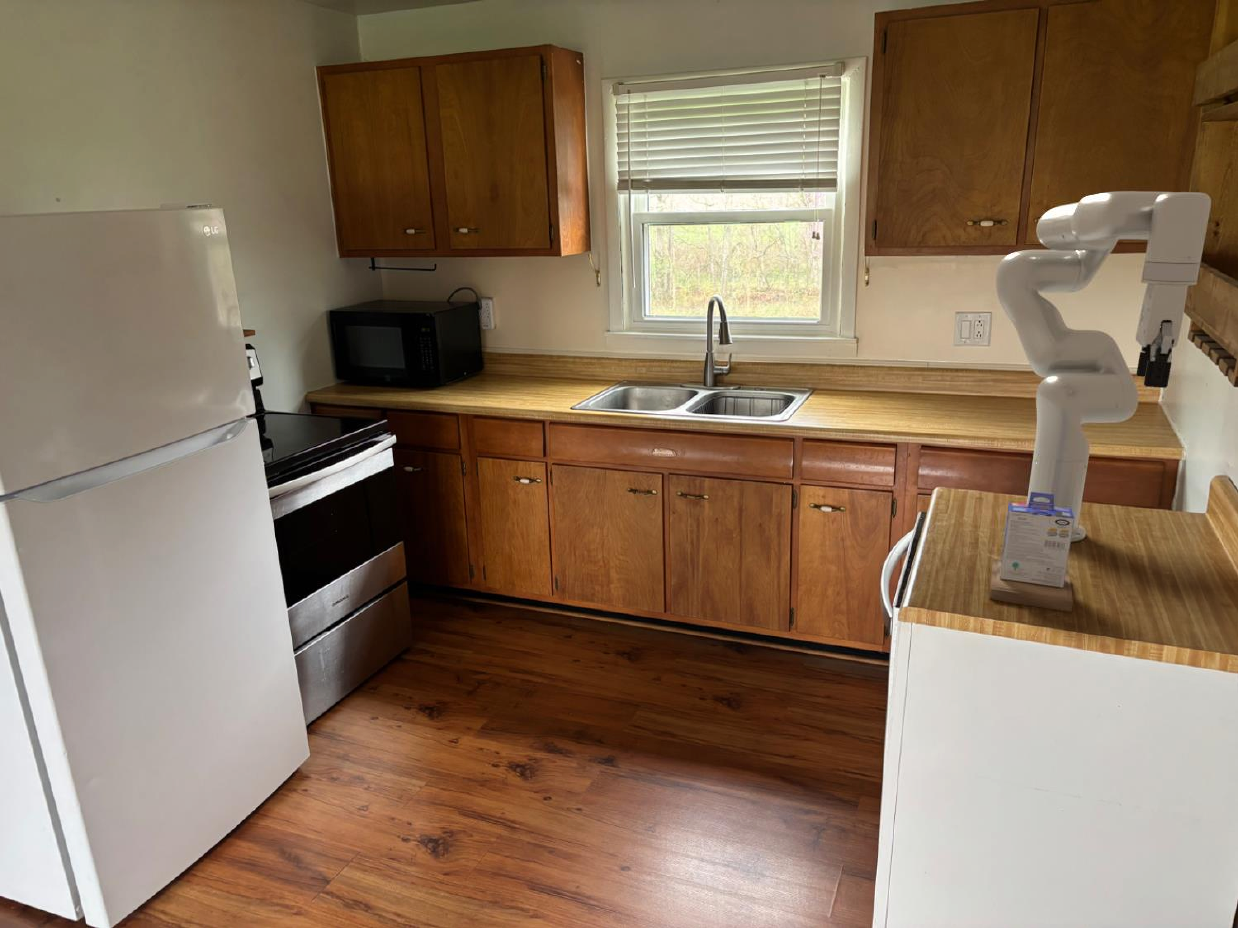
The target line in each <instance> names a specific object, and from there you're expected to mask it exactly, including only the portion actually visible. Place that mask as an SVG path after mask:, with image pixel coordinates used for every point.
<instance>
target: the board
mask: <svg viewBox="0 0 1238 928" xmlns="http://www.w3.org/2000/svg"><path fill="white" fill-rule="evenodd" d="M1001 561H1002V559H995V558H993V559H992V565H991V572H990V573H991V574H990V590H989V600H994V601H1001V602H1006V603H1012V604H1018V605H1025V606H1031V607H1035V608H1037V607H1038V608H1043V609H1049V610H1055V611H1062V612H1067V613H1068V612H1069V613H1072V611H1073V606H1074V605H1073V604H1074V599H1073V591H1072V586H1071V585H1072V584H1071V578H1070V570H1069V569H1066V574H1065V580H1064V586H1063V587H1055V586H1048V585H1041V584H1034V583H1027V582H1020V581H1013V580H1006V579H1001V578H1000V568H1001Z"/></svg>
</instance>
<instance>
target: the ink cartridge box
mask: <svg viewBox="0 0 1238 928" xmlns="http://www.w3.org/2000/svg"><path fill="white" fill-rule="evenodd" d="M1037 497H1044V498H1047V499H1049V500H1050V502H1049V503H1045V502H1037V501H1034V500H1033V498H1037ZM1073 524H1074V515H1073V512H1072V509H1068V508H1058V507H1054V494H1045V493H1037V492H1031V493H1030V500H1029V504H1028V505H1027V503H1017V502H1016V503H1015V502H1009V503H1008V508H1007V514H1006V522H1005V530H1004V537H1003V545H1002V547H1003V548H1002V553H1001V555H1002V556H1001V560H1002V561H1001V568H1000V578H1001V579H1006V580H1013V581H1020V582H1027V583H1034V584H1041V585H1048V586H1055V587H1063V586H1064V580H1065V574H1066V570H1067V569H1068V568H1067V567H1068V560H1069V555H1070V548H1071V543H1072V542H1071V536H1072V530H1073Z"/></svg>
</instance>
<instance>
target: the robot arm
mask: <svg viewBox="0 0 1238 928" xmlns="http://www.w3.org/2000/svg"><path fill="white" fill-rule="evenodd" d="M1211 205H1212V200H1211V197H1210V196H1209V195H1208V194H1207V193H1205V192H1198V191H1197V192H1189V191H1188V192H1187V191H1181V192H1179V191H1178V192H1176V191H1175V192H1173V191H1131V190H1130V191H1108V192H1102V193H1101V192H1100V193H1096V194H1092V195H1087V196H1085V197H1082V198H1081V199H1080V201H1079V202H1073V203H1068V204H1063V205H1058V206H1056V207H1053V208H1051V209H1049V210H1048V211H1046V212H1045V213H1043V215H1042V216H1041V217H1040V218H1039V219H1038V222H1037V225H1036V236H1037V239H1038V241H1039V242H1040V243H1041V245H1043V246H1044V247H1045V248H1047V249H1026V250H1025V249H1024V250H1019V251H1014V252H1012V253H1010V254H1007V255H1006V256H1005V257H1004V258H1003V259H1001V261H1000V262H999V264H998V267H997V269H996V275H995V277H996V278H995V284H996V285H995V286H996V293H997V297H998V299H999V300H998V301H999V303H1000V305H1001V308H1002V309H1003V310H1004V312H1005V314H1006V315H1007V317H1008V318H1009V320H1010V322H1011V323H1012V325H1013V326H1014V328H1015V330H1016V333H1017V336H1018V338H1019V340H1020V343H1021V345H1022V348H1023V350H1024V353H1025V355H1026V358H1027V361H1028V362H1029V365H1030V367H1031V369H1032V371H1033V372H1034V373H1035V375H1037V376H1039V377H1041V378H1044V379H1042V381H1040V383H1039V384H1038V387H1037V389H1036V395H1035V408H1036V431H1035V432H1036V433H1035V441H1034V447H1033V455H1032V456H1033V458H1032V463H1031V471H1030V477H1029V485H1028V492H1027V500H1026V504H1027V505H1028V504H1029V500H1030V493H1031V492H1037V493H1045V494H1054V507H1058V508H1068V509H1072V512H1073V515H1074V524H1073V530H1072V536H1071V543H1074V542H1078V541H1081V540H1084V538H1085V537H1086V533H1087V530H1086V529H1085V527H1083V526H1082V525H1081V524H1079V522H1080V521H1079V519H1080V514H1081V509H1082V507H1081V505H1082V501H1083V496H1084V495H1083V493H1084V489H1085V484H1086V483H1085V482H1086V476H1087V471H1088V470H1087V469H1088V464H1089V457H1090V449H1091V448H1090V447H1091V446H1090V442H1089V440H1088V438H1087V436H1086V434H1085V433H1084V430H1083V429H1082V424H1109V423H1110V424H1111V423H1121V422H1124V421H1127V420H1129V419H1130V418H1132V417H1133V416H1134V414H1135V413H1136V410H1137V409H1138V405H1139V393H1138V392H1139V391H1138V388H1137V385H1136V382H1135V379H1134V378H1133V375H1132V372H1131V371H1130V369H1129V367H1128V364H1127V363H1126V360H1125V358H1124V356H1123V354H1122V352H1121V349H1120V347H1119V346H1118V343H1117V341H1116V340H1114V338H1113V337H1112V336H1111V335H1109V334H1108V333H1107V332H1105V331H1102V330H1097V329H1096V330H1095V329H1073V328H1070V327H1068V326H1067V325H1066V323H1065V321H1064V319H1063V316H1062V314H1061V312H1060V311H1059V309H1058V308H1057V306H1055V305H1054V304H1053V303H1052V302H1051V301H1050V300H1049V299H1047V298H1046V297H1044V296H1042V295H1041V294H1040V293H1054V294H1055V293H1069V294H1070V293H1075V292H1076V293H1077V292H1080V291H1081V290H1083V289H1085V288H1086V287H1087V286H1088V285H1089V284H1090V283H1091V282H1092V280H1093V279H1094V278H1095V276H1096V274H1097V273H1098V272H1099V270H1100V269H1101V267H1102V266H1103V264H1104V263H1105V261H1106V260H1107V259H1108V258H1109V255H1110V254H1111V253H1112V251H1113V250H1114V249H1115V246H1117V243H1118V241H1119V240H1144V241H1146V240H1147V245H1146V251H1145V257H1144V263H1143V270H1142V276H1141V280H1140V282H1141V283H1143V284H1147V285H1146V288H1145V292H1144V296H1143V299H1142V304H1141V309H1140V315H1139V319H1138V324H1137V329H1136V333H1135V341H1136V342H1137V344H1139V345H1140V346H1141V349H1140V352H1139V356H1138V362H1137V368H1136V375H1137V377H1143V378H1144V380H1143V385H1144V386H1145V387H1146V388H1163V389H1165V388H1167V387H1168V385H1169V380H1170V374H1171V368H1172V359H1173V349H1174V348H1176V347H1177V345H1178V343H1179V338H1180V334H1181V329H1182V324H1183V318H1184V312H1185V306H1186V300H1187V293H1188V287H1189V286H1196V285H1197V283H1198V282H1197V281H1198V276H1199V273H1200V266H1201V261H1202V255H1203V251H1204V244H1205V238H1206V234H1207V228H1208V224H1209V223H1208V222H1209V217H1210V213H1211V212H1210V211H1211V208H1212V207H1211ZM1033 500H1034V501H1037V502H1045V503H1049V502H1050V500H1049V499H1047V498H1044V497H1037V498H1033Z"/></svg>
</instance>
